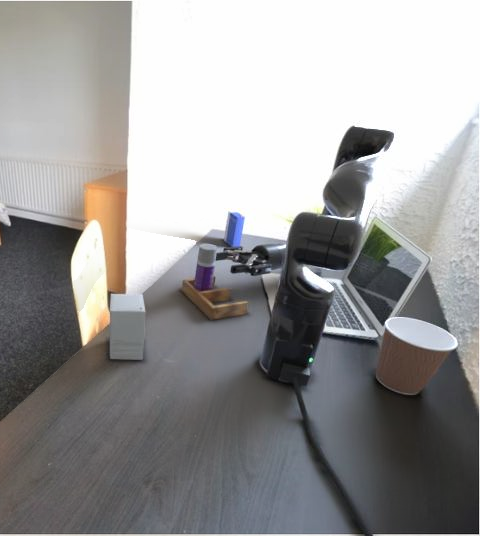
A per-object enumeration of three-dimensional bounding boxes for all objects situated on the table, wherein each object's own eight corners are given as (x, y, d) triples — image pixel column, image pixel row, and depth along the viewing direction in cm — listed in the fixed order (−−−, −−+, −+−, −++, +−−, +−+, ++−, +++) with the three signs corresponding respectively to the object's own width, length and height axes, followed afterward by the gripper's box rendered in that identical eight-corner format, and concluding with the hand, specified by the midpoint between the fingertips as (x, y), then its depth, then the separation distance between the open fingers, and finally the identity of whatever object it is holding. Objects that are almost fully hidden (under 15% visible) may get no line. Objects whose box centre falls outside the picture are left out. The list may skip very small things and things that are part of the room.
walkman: (239, 247, 136) (245, 216, 131) (232, 247, 136) (237, 216, 131) (230, 239, 143) (235, 209, 138) (223, 240, 143) (228, 209, 138)
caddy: (211, 320, 95) (213, 308, 93) (181, 290, 109) (182, 279, 107) (246, 314, 97) (248, 302, 95) (212, 286, 111) (213, 275, 109)
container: (211, 300, 103) (218, 250, 97) (193, 299, 104) (199, 249, 98) (209, 292, 107) (216, 243, 101) (192, 290, 108) (198, 242, 102)
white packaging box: (141, 340, 87) (144, 293, 82) (142, 361, 81) (146, 311, 75) (109, 339, 88) (110, 292, 83) (108, 359, 82) (109, 310, 76)
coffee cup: (446, 402, 69) (475, 349, 64) (389, 402, 69) (413, 350, 64) (403, 364, 78) (425, 316, 73) (353, 365, 78) (372, 316, 73)
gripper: (259, 235, 110) (210, 241, 107) (294, 254, 98) (240, 261, 95) (254, 258, 114) (206, 265, 110) (288, 279, 101) (235, 287, 98)
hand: (222, 263), depth 103 cm, fingers open, 8 cm apart
